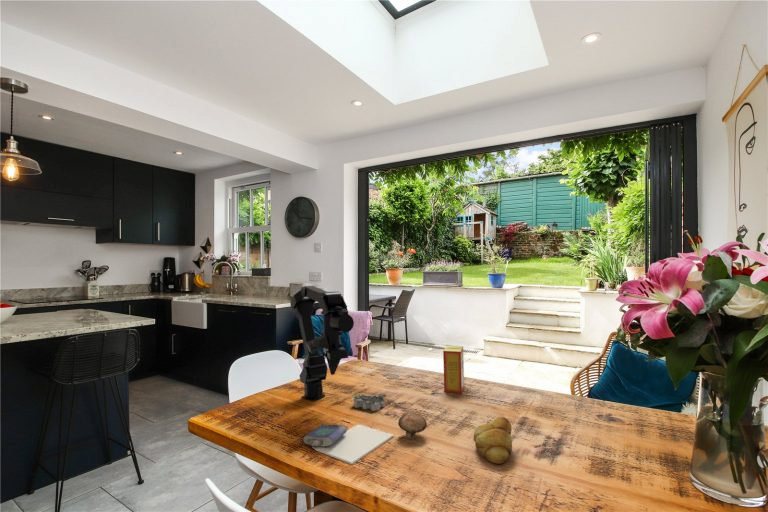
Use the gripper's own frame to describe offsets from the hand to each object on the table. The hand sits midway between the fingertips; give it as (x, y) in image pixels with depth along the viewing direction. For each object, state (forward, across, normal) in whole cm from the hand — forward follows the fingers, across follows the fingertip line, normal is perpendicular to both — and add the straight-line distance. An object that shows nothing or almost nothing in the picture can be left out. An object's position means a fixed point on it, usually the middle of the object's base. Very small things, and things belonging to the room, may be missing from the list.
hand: (332, 374), depth 128 cm
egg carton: (+12, +2, +12) cm, 18 cm away
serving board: (+12, +26, -1) cm, 29 cm away
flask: (+10, +18, -5) cm, 21 cm away
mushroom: (+12, +29, +15) cm, 35 cm away
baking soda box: (+12, 0, +49) cm, 50 cm away
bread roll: (+12, +47, +30) cm, 57 cm away
